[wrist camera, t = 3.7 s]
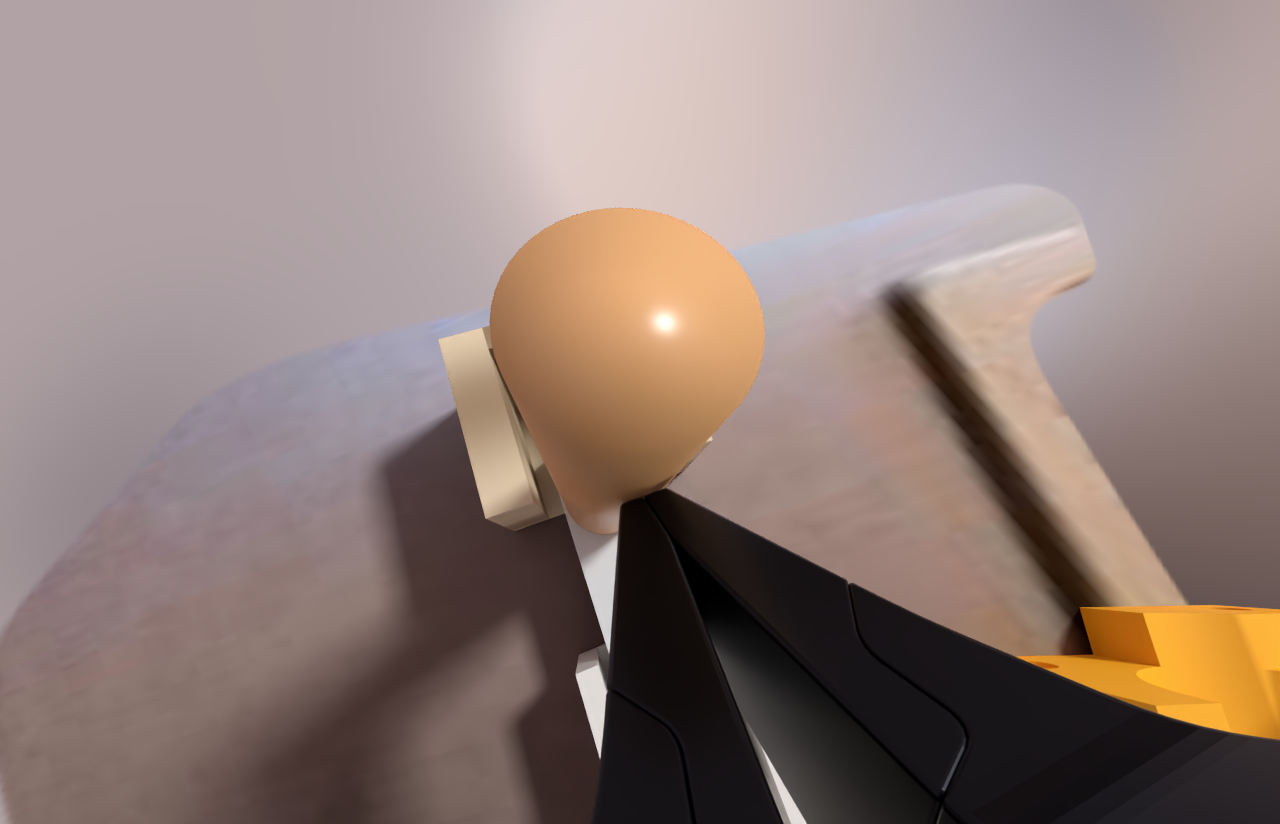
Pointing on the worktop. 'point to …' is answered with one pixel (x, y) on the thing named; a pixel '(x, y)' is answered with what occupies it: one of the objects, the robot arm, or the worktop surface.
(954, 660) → the robot arm
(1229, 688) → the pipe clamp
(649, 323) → the slide bolt
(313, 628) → the worktop surface
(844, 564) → the worktop surface
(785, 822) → the sleeve
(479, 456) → the socket
